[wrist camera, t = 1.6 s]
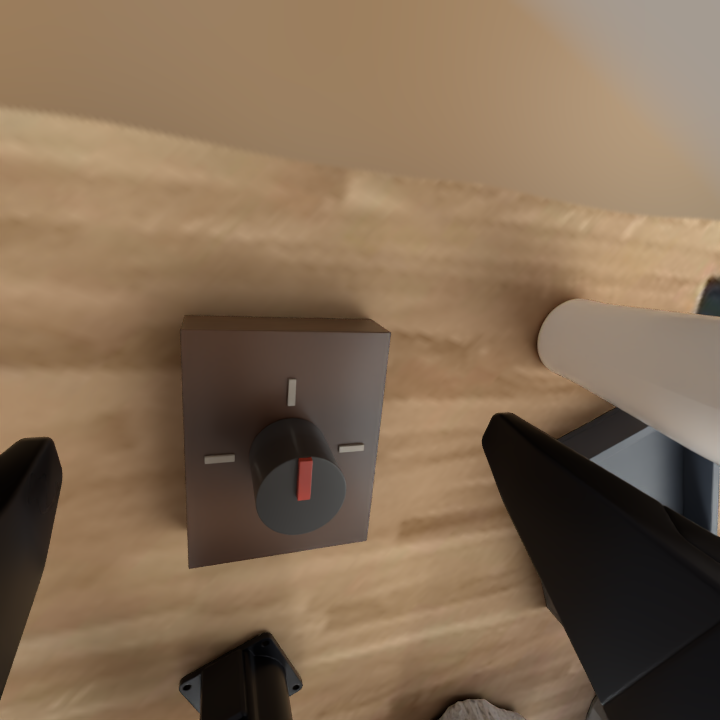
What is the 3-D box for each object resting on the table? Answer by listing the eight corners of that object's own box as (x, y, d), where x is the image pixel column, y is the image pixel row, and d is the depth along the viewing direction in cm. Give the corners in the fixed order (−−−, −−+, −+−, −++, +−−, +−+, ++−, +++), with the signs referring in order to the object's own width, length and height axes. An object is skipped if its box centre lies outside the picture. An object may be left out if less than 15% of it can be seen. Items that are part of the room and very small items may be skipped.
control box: (352, 509, 28) (367, 543, 25) (191, 530, 25) (188, 571, 22) (371, 319, 24) (392, 333, 21) (184, 315, 21) (179, 330, 18)
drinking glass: (507, 336, 27) (788, 450, 14) (580, 264, 28) (930, 309, 14) (551, 398, 30) (818, 542, 17) (616, 333, 31) (935, 425, 17)
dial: (323, 482, 23) (344, 533, 19) (248, 490, 22) (255, 546, 18) (328, 415, 22) (352, 456, 18) (249, 420, 20) (257, 464, 17)
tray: (684, 521, 41) (717, 542, 39) (546, 607, 38) (571, 636, 36) (684, 370, 34) (724, 383, 31) (514, 462, 31) (543, 485, 29)
